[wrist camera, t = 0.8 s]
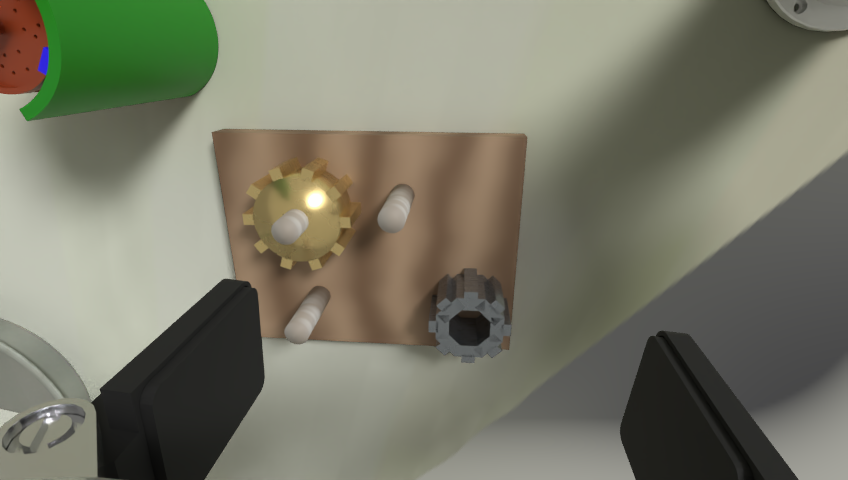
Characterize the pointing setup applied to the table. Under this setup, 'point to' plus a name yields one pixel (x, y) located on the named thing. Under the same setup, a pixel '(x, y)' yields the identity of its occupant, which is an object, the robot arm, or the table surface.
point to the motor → (104, 52)
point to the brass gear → (316, 199)
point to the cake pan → (33, 371)
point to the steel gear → (469, 332)
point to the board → (378, 228)
